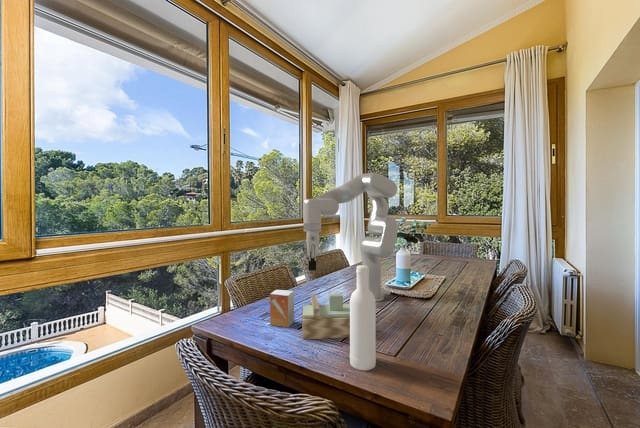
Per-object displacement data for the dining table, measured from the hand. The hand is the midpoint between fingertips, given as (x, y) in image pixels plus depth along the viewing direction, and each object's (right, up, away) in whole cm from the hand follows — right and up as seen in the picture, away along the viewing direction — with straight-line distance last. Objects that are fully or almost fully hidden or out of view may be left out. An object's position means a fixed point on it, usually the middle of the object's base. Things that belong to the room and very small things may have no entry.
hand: (312, 270), depth 125 cm
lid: (+7, -14, -13) cm, 20 cm away
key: (+1, -12, -14) cm, 19 cm away
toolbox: (+7, -21, -13) cm, 25 cm away
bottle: (+16, -22, -36) cm, 45 cm away
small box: (-12, -21, -7) cm, 25 cm away
